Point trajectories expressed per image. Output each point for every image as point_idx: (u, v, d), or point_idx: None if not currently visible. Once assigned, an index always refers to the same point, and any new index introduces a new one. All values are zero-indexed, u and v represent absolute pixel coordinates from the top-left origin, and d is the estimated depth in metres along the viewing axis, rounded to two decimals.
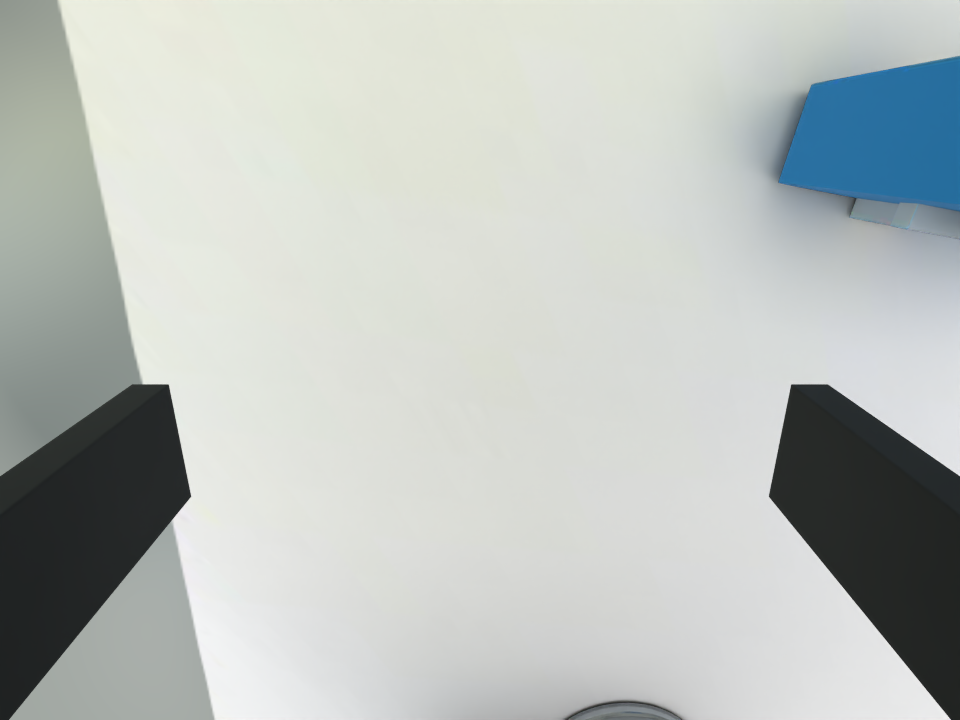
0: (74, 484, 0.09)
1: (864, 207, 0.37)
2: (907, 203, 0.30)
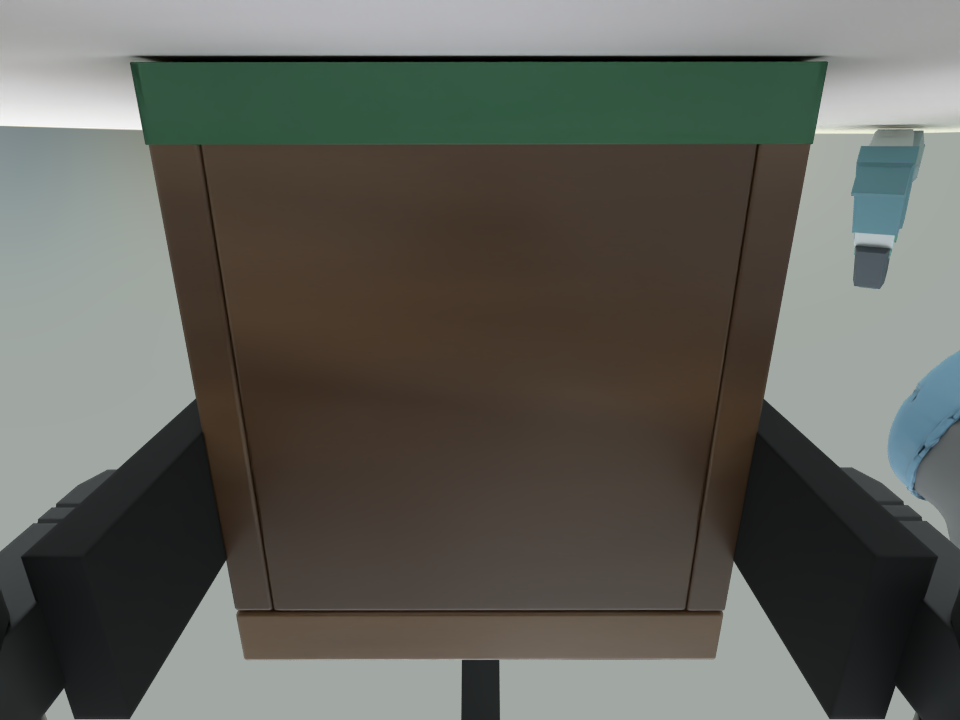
0: None
1: None
2: None
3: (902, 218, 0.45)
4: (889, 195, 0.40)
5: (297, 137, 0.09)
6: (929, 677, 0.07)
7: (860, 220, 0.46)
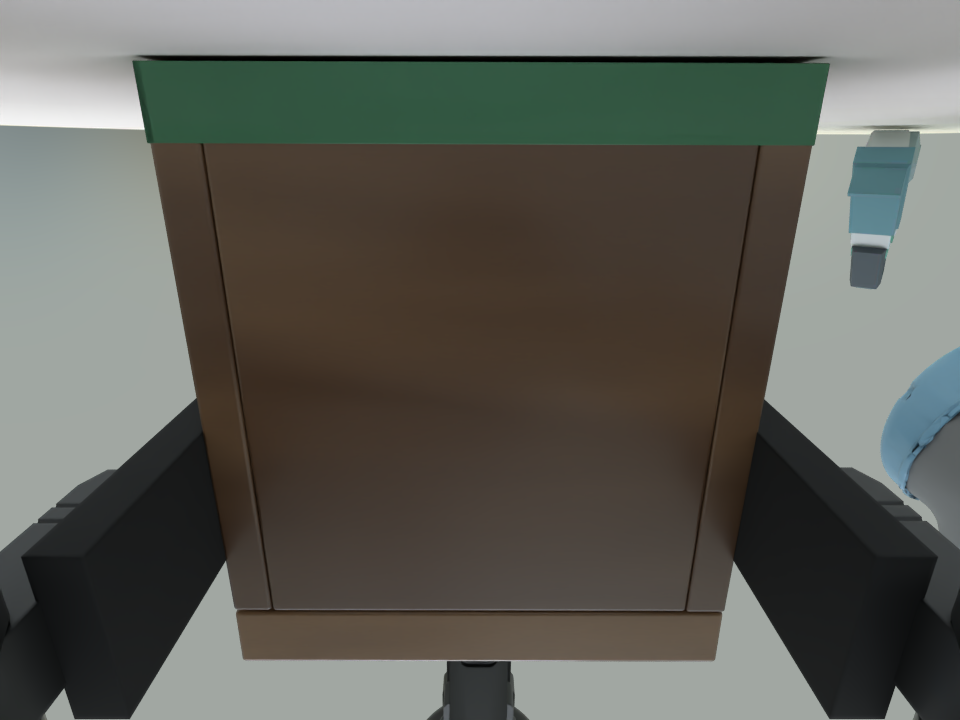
0: None
1: None
2: None
3: (898, 219, 0.46)
4: (885, 196, 0.40)
5: (298, 137, 0.09)
6: (929, 677, 0.07)
7: (857, 220, 0.46)
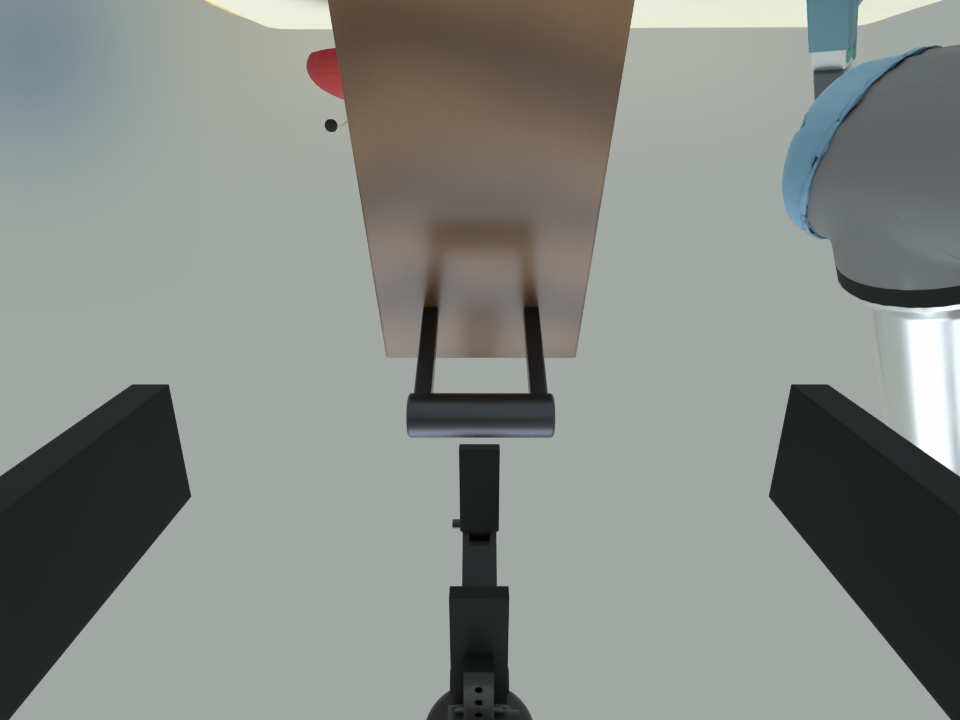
0: (74, 484, 0.09)
1: None
2: None
3: (851, 31, 0.52)
4: None
5: None
6: None
7: (814, 35, 0.52)
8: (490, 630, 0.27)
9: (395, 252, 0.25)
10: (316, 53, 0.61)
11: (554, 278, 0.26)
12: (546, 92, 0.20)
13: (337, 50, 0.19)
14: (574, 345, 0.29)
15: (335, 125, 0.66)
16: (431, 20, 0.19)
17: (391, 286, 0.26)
